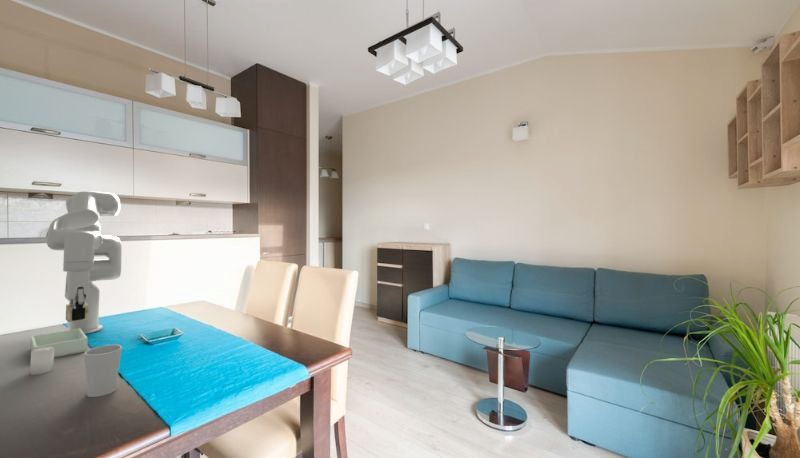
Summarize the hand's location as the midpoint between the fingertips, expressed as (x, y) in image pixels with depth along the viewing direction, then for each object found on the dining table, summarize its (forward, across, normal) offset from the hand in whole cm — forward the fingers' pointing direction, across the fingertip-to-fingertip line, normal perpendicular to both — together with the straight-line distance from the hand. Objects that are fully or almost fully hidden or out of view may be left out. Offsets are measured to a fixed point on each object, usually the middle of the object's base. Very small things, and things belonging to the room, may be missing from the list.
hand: (77, 317), depth 112 cm
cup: (+15, +34, +2) cm, 37 cm away
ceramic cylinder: (+15, +4, -8) cm, 17 cm away
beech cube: (+1, 0, 0) cm, 1 cm away
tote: (+15, -17, -2) cm, 23 cm away
